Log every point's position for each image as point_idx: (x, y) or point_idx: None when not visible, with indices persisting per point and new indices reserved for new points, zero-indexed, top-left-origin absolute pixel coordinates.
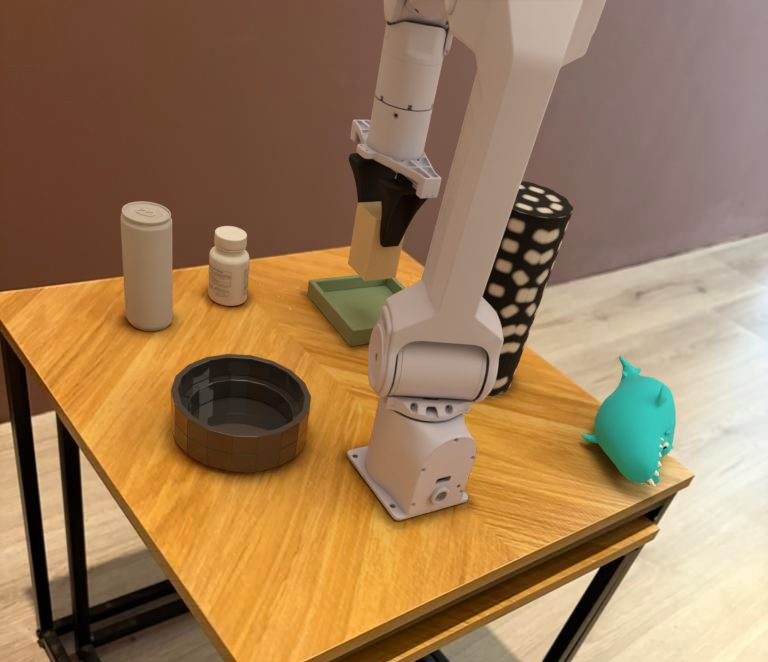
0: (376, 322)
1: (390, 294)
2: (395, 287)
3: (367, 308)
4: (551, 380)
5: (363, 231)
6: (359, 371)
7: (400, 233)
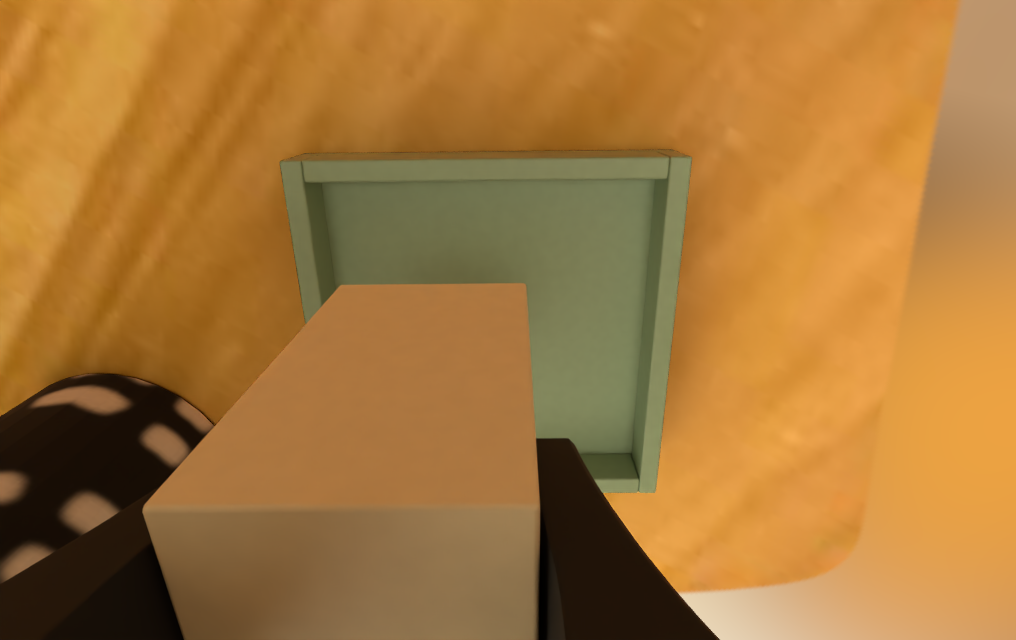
0: None
1: (572, 441)
2: None
3: None
4: None
5: (383, 395)
6: (145, 109)
7: None
